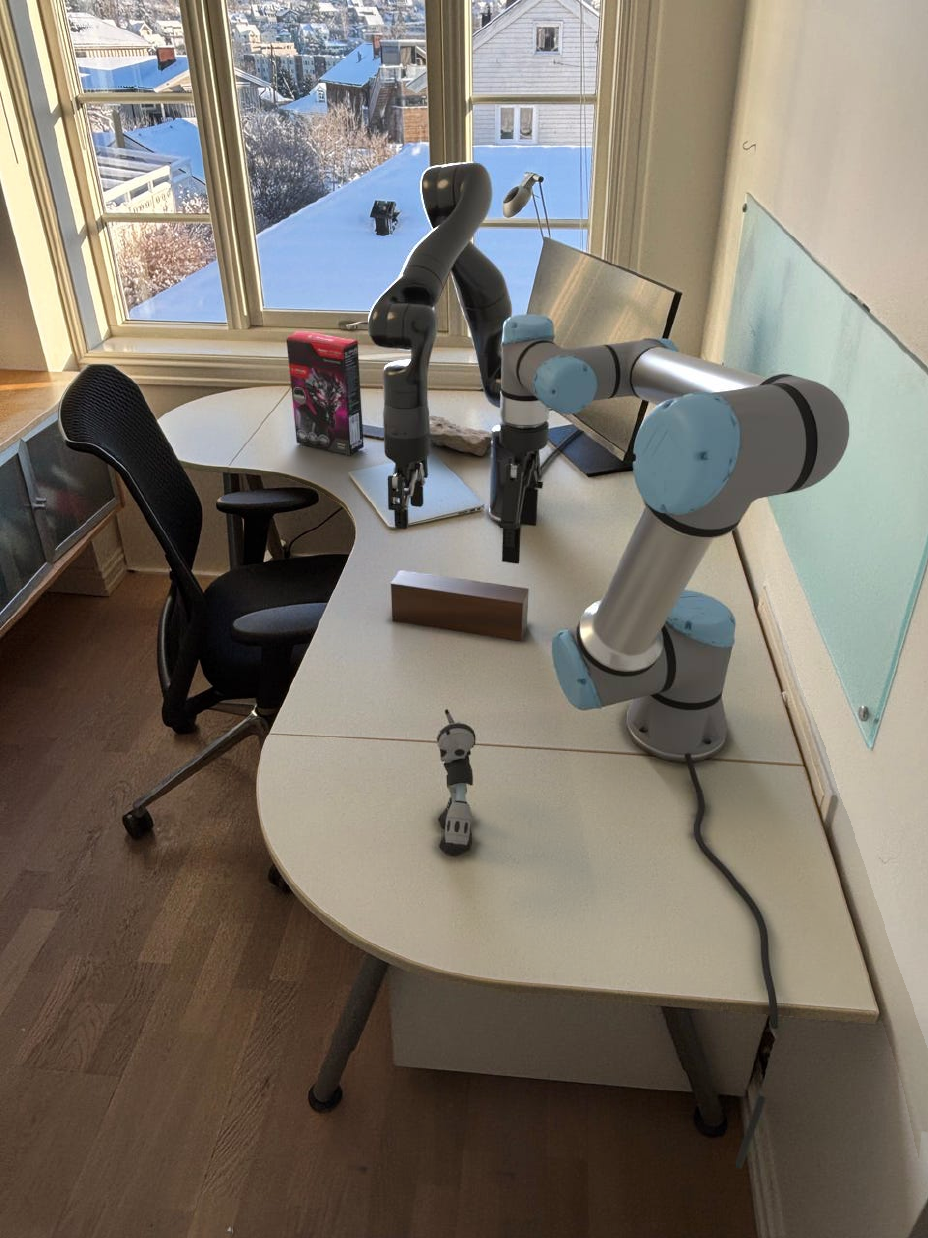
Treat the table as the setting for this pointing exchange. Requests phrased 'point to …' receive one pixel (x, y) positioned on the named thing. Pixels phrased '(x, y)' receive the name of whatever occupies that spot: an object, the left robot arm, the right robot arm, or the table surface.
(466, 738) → the robot
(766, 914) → the table surface
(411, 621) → the walnut beam
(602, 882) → the table surface
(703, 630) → the right robot arm
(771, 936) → the table surface
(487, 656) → the table surface
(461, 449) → the stone
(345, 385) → the graphics card box
